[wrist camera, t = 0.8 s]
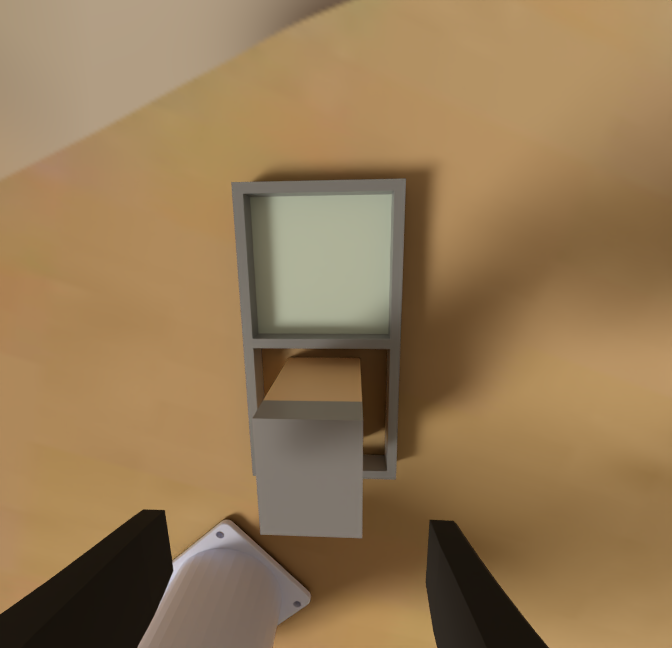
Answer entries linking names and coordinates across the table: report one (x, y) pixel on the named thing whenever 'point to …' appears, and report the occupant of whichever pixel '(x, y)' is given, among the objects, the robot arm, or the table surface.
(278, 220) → the gray divided rectangular frame
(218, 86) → the table surface
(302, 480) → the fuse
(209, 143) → the table surface
